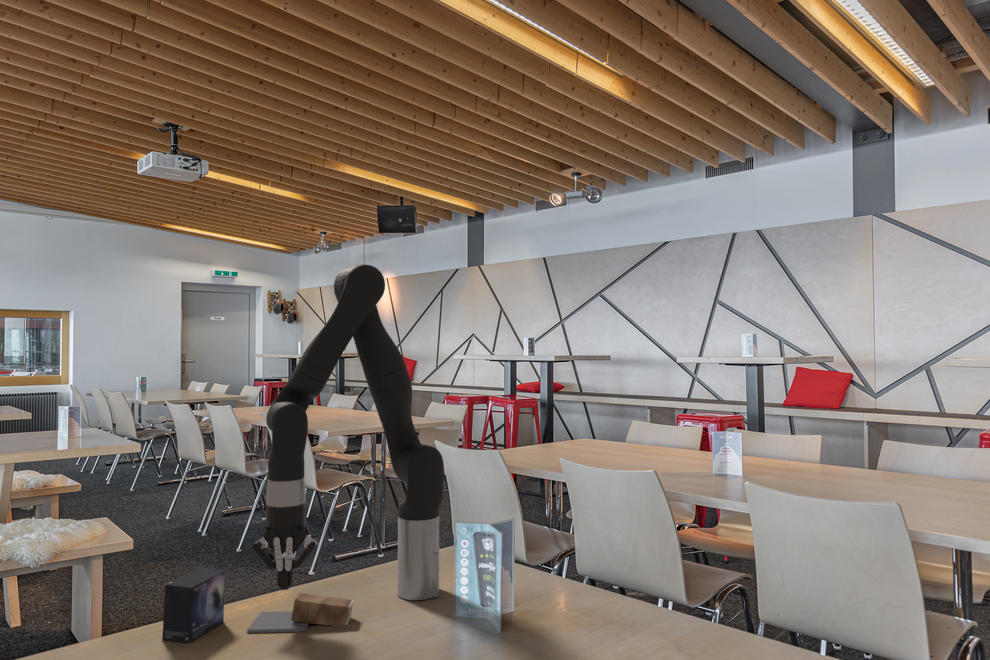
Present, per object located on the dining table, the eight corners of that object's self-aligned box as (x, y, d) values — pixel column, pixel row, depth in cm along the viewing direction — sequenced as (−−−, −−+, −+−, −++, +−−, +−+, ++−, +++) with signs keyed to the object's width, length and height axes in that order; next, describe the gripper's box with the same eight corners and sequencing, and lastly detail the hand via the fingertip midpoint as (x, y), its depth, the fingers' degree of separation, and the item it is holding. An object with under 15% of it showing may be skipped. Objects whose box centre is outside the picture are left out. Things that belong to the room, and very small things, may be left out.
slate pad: (315, 613, 136) (315, 610, 136) (305, 631, 127) (305, 628, 127) (261, 614, 136) (261, 611, 136) (247, 632, 127) (247, 629, 127)
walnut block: (296, 612, 134) (350, 619, 134) (291, 620, 130) (346, 627, 130) (299, 592, 134) (353, 600, 134) (294, 600, 130) (350, 607, 130)
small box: (191, 644, 122) (192, 586, 122) (160, 641, 123) (161, 584, 124) (225, 622, 132) (226, 568, 133) (197, 619, 134) (198, 566, 134)
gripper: (323, 496, 137) (322, 581, 136) (258, 497, 136) (257, 582, 135) (315, 504, 129) (314, 594, 129) (246, 505, 129) (245, 596, 128)
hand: (285, 588), depth 132 cm, fingers closed
